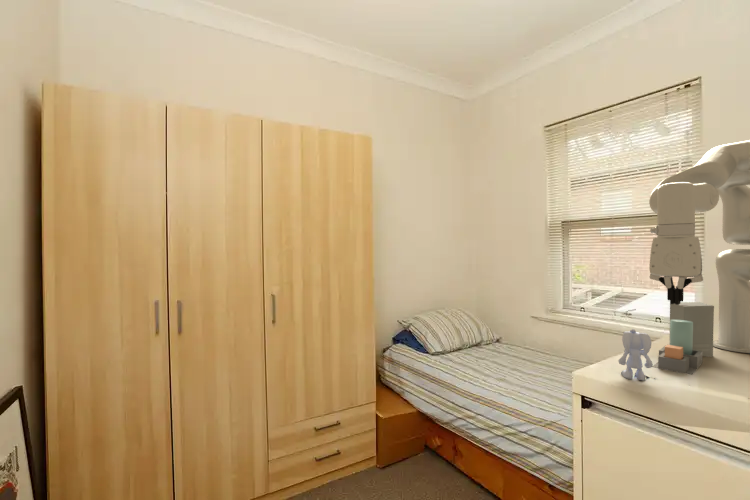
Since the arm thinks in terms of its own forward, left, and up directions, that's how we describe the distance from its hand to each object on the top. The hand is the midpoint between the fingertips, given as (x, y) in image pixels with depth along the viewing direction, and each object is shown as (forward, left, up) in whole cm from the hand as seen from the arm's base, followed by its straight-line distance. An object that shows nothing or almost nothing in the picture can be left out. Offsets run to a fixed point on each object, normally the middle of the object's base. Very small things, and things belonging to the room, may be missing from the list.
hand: (675, 303), depth 97 cm
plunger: (0, 0, -16) cm, 16 cm away
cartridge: (-4, -7, -17) cm, 18 cm away
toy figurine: (+12, +8, -18) cm, 23 cm away
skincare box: (-12, -18, -18) cm, 28 cm away
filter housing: (-2, -3, -18) cm, 18 cm away
